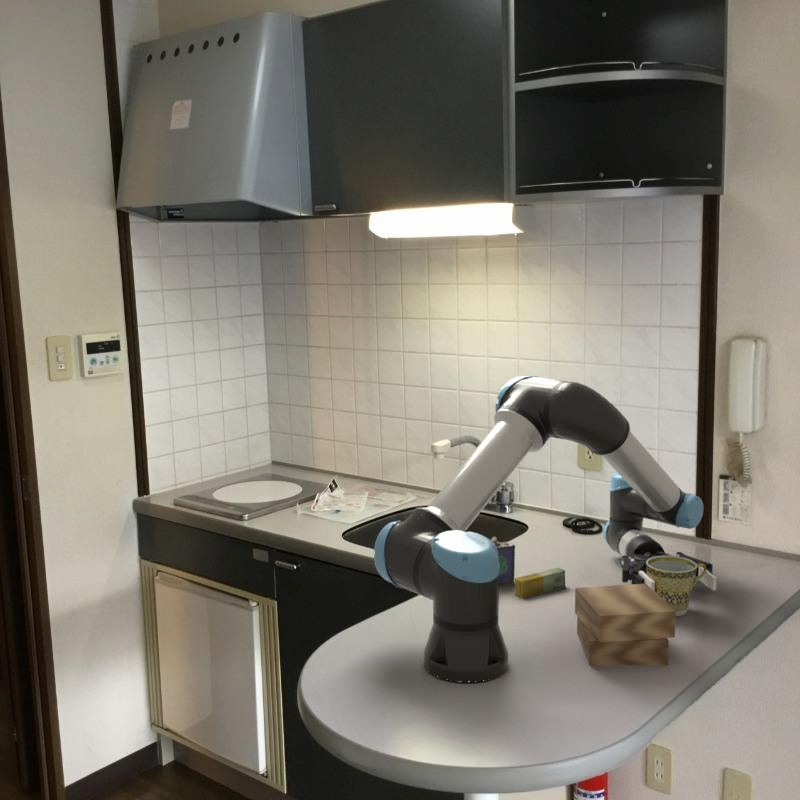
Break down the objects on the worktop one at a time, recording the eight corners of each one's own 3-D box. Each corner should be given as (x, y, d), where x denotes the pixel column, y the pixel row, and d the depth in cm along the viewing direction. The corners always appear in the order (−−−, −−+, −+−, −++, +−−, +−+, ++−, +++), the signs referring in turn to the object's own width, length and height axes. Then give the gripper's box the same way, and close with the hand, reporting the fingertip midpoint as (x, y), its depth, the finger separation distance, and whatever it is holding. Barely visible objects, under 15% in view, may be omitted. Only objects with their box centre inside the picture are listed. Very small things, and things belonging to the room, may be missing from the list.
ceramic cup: (660, 622, 193) (662, 574, 191) (635, 604, 202) (636, 558, 200) (718, 614, 196) (720, 567, 194) (691, 597, 205) (692, 551, 204)
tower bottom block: (589, 667, 174) (589, 641, 174) (576, 635, 188) (577, 610, 187) (667, 667, 174) (668, 640, 173) (649, 634, 188) (650, 610, 187)
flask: (477, 589, 212) (477, 542, 210) (472, 585, 215) (472, 538, 213) (516, 584, 215) (516, 537, 213) (510, 579, 217) (511, 533, 216)
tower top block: (599, 642, 173) (600, 616, 172) (574, 612, 186) (575, 587, 185) (674, 637, 174) (675, 611, 174) (645, 608, 188) (645, 583, 187)
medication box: (558, 584, 215) (558, 567, 214) (566, 588, 212) (566, 570, 212) (514, 595, 209) (513, 577, 208) (521, 599, 206) (521, 581, 206)
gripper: (693, 564, 219) (740, 599, 198) (588, 571, 215) (625, 608, 194) (694, 532, 217) (742, 564, 197) (589, 539, 214) (625, 572, 193)
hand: (684, 586), depth 195 cm, fingers closed on ceramic cup, 12 cm apart
